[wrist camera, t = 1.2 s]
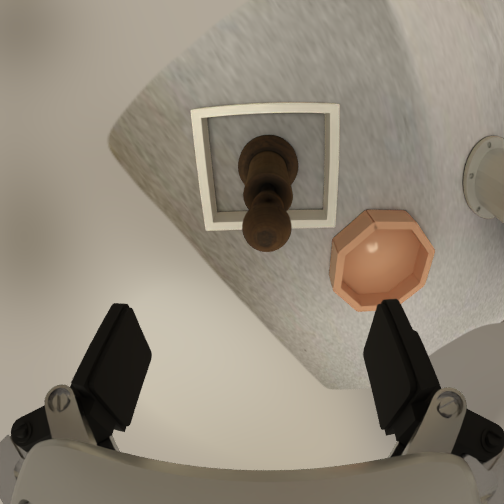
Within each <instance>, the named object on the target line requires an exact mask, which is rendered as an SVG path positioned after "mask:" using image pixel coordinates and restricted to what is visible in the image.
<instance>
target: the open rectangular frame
mask: <svg viewBox="0 0 504 504" xmlns="http://www.w3.org/2000/svg"><path fill="white" fill-rule="evenodd" d="M257 113H325V159H324V196H323V209H322V210H287V211H286V212H287V213H288V215H289V217H290V220H291V226H292V228H335V221H336V207H337V191H338V169H339V104H335V103H315V102H274V103H250V104H235V105H223V106H213V107H204V108H196V109H192V110H191V119H192V128H193V137H194V146H195V154H196V163H197V171H198V179H199V186H200V194H201V201H202V208H203V215H204V222H205V229H206V231H213V230H242V223H243V219H244V217H245V215H246V213H247V212H248V211H234V212H217V205H216V197H215V188H214V179H213V170H212V161H211V151H210V142H209V132H208V121H207V117H215V116H226V115H240V114H257Z"/></svg>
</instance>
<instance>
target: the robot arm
mask: <svg viewBox="0 0 504 504" xmlns="http://www.w3.org/2000/svg"><path fill="white" fill-rule="evenodd" d="M463 186H464V194H465V198H466V201H467V203H468V205H469V207H470V208H471V210H472V211H473V212H474V213H476V214H477V215H478V216H480V217H482V218H485V219H491V218H495V217H496V218H498V219H499V220H500V221H501V222H502V223H503V224H504V139H503V138H501V137H498V136H489V137H486V138H484V139H483V140H481V141H480V142H479V143H478V144H477V145H476V146H475V147H474V149H473V150H472V152H471V154H470V156H469V158H468V160H467V163H466V166H465V171H464V180H463ZM151 356H152V354H151V350H150V348H149V346H148V343H147V341H146V339H145V337H144V335H143V332H142V330H141V328H140V326H139V323H138V321H137V318H136V316H135V313H134V311H133V309H132V308H129V306H128V304H118V303H114V304H113V305H112V306H111V308H110V309H109V311H108V313H107V315H106V316H105V318H104V320H103V322H102V324H101V325H100V327H99V329H98V331H97V333H96V335H95V336H94V338H93V340H92V342H91V344H90V346H89V348H88V350H87V352H86V354H85V356H84V358H83V360H82V362H81V364H80V366H79V368H78V370H77V372H76V374H75V376H74V378H73V380H72V382H71V383H72V384H71V386H70V387H69V386H67V385H57V386H55V387H53V388H52V389H51V390H50V391H49V392H48V393H47V395H46V397H45V405H44V406H43V407H41V408H39V409H37V410H35V411H33V412H31V413H29V414H27V415H25V416H23V417H21V418H19V419H18V420H16V421H15V423H14V424H13V426H12V429H11V436H9V435H7V436H6V437H5V438H4V439H3V440H2V441H1V442H0V499H1V500H2V502H3V504H504V431H503V429H502V428H501V427H500V426H499V425H497V424H496V423H493V422H492V421H490V420H488V419H486V418H484V417H482V416H480V415H478V414H476V413H474V412H472V411H470V410H468V409H467V404H466V400H465V397H464V396H463V394H462V393H461V392H460V391H458V390H457V389H454V388H450V387H448V388H447V387H446V388H443V389H441V387H440V384H439V381H438V379H437V376H436V374H435V371H434V369H433V367H432V364H431V362H430V359H429V357H428V354H427V352H426V350H425V348H424V345H423V343H422V341H421V339H420V336H419V334H418V333H417V332H416V331H415V330H413V329H412V327H411V325H410V323H409V320H408V318H407V316H406V314H405V312H404V310H403V308H402V306H401V304H400V302H399V300H398V299H385V300H382V302H381V304H378V305H377V308H376V311H375V315H374V318H373V322H372V325H371V328H370V332H369V335H368V338H367V341H366V344H365V347H364V352H363V356H364V361H365V365H366V368H367V372H368V376H369V380H370V384H371V388H372V392H373V396H374V401H375V405H376V410H377V414H378V419H379V424H380V427H381V429H382V430H383V429H385V433H386V435H391V434H395V436H396V440H397V443H396V445H395V446H394V448H393V450H392V452H391V453H390V455H389V457H388V458H385V459H380V460H374V461H369V462H363V463H356V464H349V465H342V466H334V467H325V468H315V469H301V470H271V471H270V470H268V471H266V470H265V471H264V470H263V471H262V470H232V469H217V468H206V467H197V466H190V465H182V464H176V463H169V462H164V461H159V460H154V459H148V458H144V457H139V456H135V455H131V454H127V453H122V452H120V451H119V449H118V447H117V445H116V443H115V440H114V438H113V436H112V433H113V430H114V429H115V430H119V431H123V432H125V429H126V426H129V425H130V423H131V420H132V417H133V413H134V409H135V407H136V404H137V401H138V398H139V394H140V391H141V388H142V385H143V382H144V379H145V376H146V373H147V370H148V367H149V364H150V361H151Z"/></svg>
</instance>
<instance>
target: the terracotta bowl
mask: <svg viewBox="0 0 504 504" xmlns="http://www.w3.org/2000/svg"><path fill="white" fill-rule="evenodd" d="M434 253H435V249H434V248H433V246H432V245H431V243H430V242H429V240H428V239H427V237H426V236H425V234H424V233H423V231H422V230H421V228H420V227H419V225H418V224H417V222H416V221H415V220H414V219H413V218H412V217H411V216H410V215H409V214H408V213H407V212H406V211H405V210H366V211H364V212H362V213H361V214H360V215H359V216H358V217H357V218H356V219H354V220H353V221H352V222H351V223H350V224H349V225H348V226H346V227H345V228H344V229H343V230H342V231H341V232H340V233H338V234H337V235H336V236H335V237H334V238H333V239H332V250H331V260H330V269H329V276H330V280H331V284H332V288H333V291H334V292H335V293H336V294H337V295H339V296H340V297H341V298H342V299H343V300H344V301H346V302H347V303H348V304H349V305H350V306H351V307H352V308H354V309H355V310H356V311H358V312H362V311H376V308H377V305H378V304H381V302H382V300H385V299H398V300H399V302H400V304H401V303H403V302H404V301H405V300H407V299H408V298H409V297H410V296H412V295H413V294H414V293H416V292H417V291H418V290H419V289H421V288H422V287H423V286H424V285H425V283H426V279H427V276H428V273H429V270H430V267H431V263H432V260H433V256H434Z"/></svg>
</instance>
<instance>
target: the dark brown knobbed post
mask: <svg viewBox="0 0 504 504" xmlns="http://www.w3.org/2000/svg"><path fill="white" fill-rule="evenodd" d="M238 171H239V175H240V178H241V180H242V182H243V183H244V184H245V188H244V193H243V197H244V202H245V204H246V206H247V208H248V209H249V211H248V212H247V213H246V215H245V217H244V219H243V223H242V230H243V235H244V237H245V239H246V241H247V242H248V244H249V245H250V246H252V247H253V248H254V249H256V250H259V251H262V252H271V251H275V250H277V249H279V248H281V247H282V246H283V245H284V244H285V243H286V242H287V240H288V239H289V237H290V234H291V228H292V226H291V220H290V217H289V215H288V213H287V212H286V211H287V210H288V209H289V208H290V206H291V204H292V200H293V193H292V188H291V184H292V183H293V182H294V180H295V178H296V176H297V172H298V160H297V157H296V154H295V151H294V149H293V148H292V146H291V145H290V144H289V143H288V142H287V141H286V140H284V139H283V138H281V137H278V136H274V135H263V136H259V137H256V138H254V139H253V140H251V141H250V142H249V143H247V145H246V146H245V147H244V149H243V150H242V152H241V155H240V158H239V163H238Z"/></svg>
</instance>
